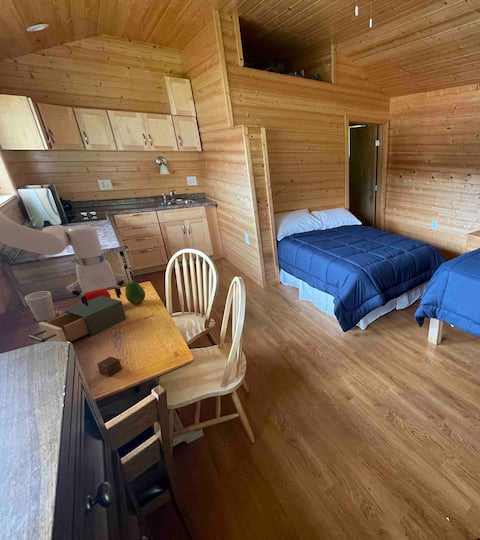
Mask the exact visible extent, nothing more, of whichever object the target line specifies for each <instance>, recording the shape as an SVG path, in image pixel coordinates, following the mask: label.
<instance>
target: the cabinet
mask: <svg viewBox="0 0 480 540" xmlns="http://www.w3.org/2000/svg"><path fill="white" fill-rule="evenodd" d="M87 302H88V306H86V305H85V304H82V302H80V303H79V304H76V305H74V306H71V307H68V308H66V309H64V314H66V313H71V314H74V315H78V316H81V317H84V318H85V320H86V323H87V326H88V329H89V332H90V333H88V334H86V336H87V335H88V336H89V337H90V336H91V337H93V336H95V335H98V334H99V333H101V332H103V331H105V330H107V329H109V328H112V327H114V326H117V325H118V324H120V323H122V322H123V321H126V320H127V316H126V312H125V307H124V305H123V301H122V300H119V299H115V298H112V297H111V298H108V297H105V296H99V297H97V298H94V299H91V300H89V301H87Z"/></svg>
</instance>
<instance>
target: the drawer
mask: <svg viewBox="0 0 480 540" xmlns="http://www.w3.org/2000/svg"><path fill="white" fill-rule="evenodd" d="M38 326H39V328H40V331H39V332H37V333H35V334H29V335H28V339H31V340H33V341H36V342H39V343H42V342H43V343H45V342H46V341H49V342H51V341H67V342H73V341H75V340H77V339H79V338H81V337H84V336H85V335H86V336H87V334H88V333H90V332H89V329H88V326H87V323H86V320H85V318H84V317H81V316H78V315H74V314H71V313H63V314H62V315H58V316H55V317H54V318H52V319H49V320H47V322H45V321H39V322H38ZM39 335H43V337H41V336H39Z"/></svg>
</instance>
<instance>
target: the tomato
mask: <svg viewBox="0 0 480 540" xmlns="http://www.w3.org/2000/svg"><path fill="white" fill-rule="evenodd" d="M85 296H86V299H87V301H89V300H91V299H94V298H97V297H99V296H105V297H108V298H112V295H111V294H110V292H109V291H108V290H107V288H104V289H100V290H95V291H90V292H86V293H85ZM80 303H82V301H81V300H80Z"/></svg>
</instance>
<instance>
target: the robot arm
mask: <svg viewBox="0 0 480 540" xmlns="http://www.w3.org/2000/svg"><path fill="white" fill-rule="evenodd" d="M0 243H2V244H3V245H6V246H9V247H12V248H13V249H14V248H15V249H18V250H22V251H26V252H30V253H35V254H39V255H48V256H54V255H59V254H62V253H63V252H64V251H65V250H66V248H67V247H68V246H71V247H72V250H73V253H74V258H72V259H70V262H71V264H75V272H76V278H77V279H76V280H75V281H73V282H71V283H70V284H69V285H67V286H66V287H65V289H66V290H67V291H68V292H69V293H71V294H72V295H74V296H78V298H80V302H81V301H82V302H81V303H82V304H85V305H86V306H88V302H87V299H86V296H85V293H86V292H90V291H95V290H100V289H108V288H112V287H114V288H113V289H114V291H115V295H116V298H117V299H121V296H122V295H123V294H122V290H121V287H122V286H123V285H124V284H125V281H126V279H127V275H125V274H121V273H114V272H113V269H112V267H111V264H110V262H109V261H108V260H107V259H105V255H104V253H103V252H104V251H103V249H102V244H101V242H100V238H99V235H98V231H97V228H95V226H93V225H88V224H80V225H73V226H72V225H71V226H70V225H68V226H67V225H49V226H45V227H44V228H43V229H42V230H39V229H37V228H36V229H35V228H32V227H28V226H26V225H23V224H19V223H17V222H15V221H14V220H12V219H10V218H9V217H8V216H7V215H6V214H4V213H3V212H2V211H1V210H0ZM116 279H119V281H116ZM77 286H79V288H80V289H79V290H77V289H75V288H76V287H77Z"/></svg>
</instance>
